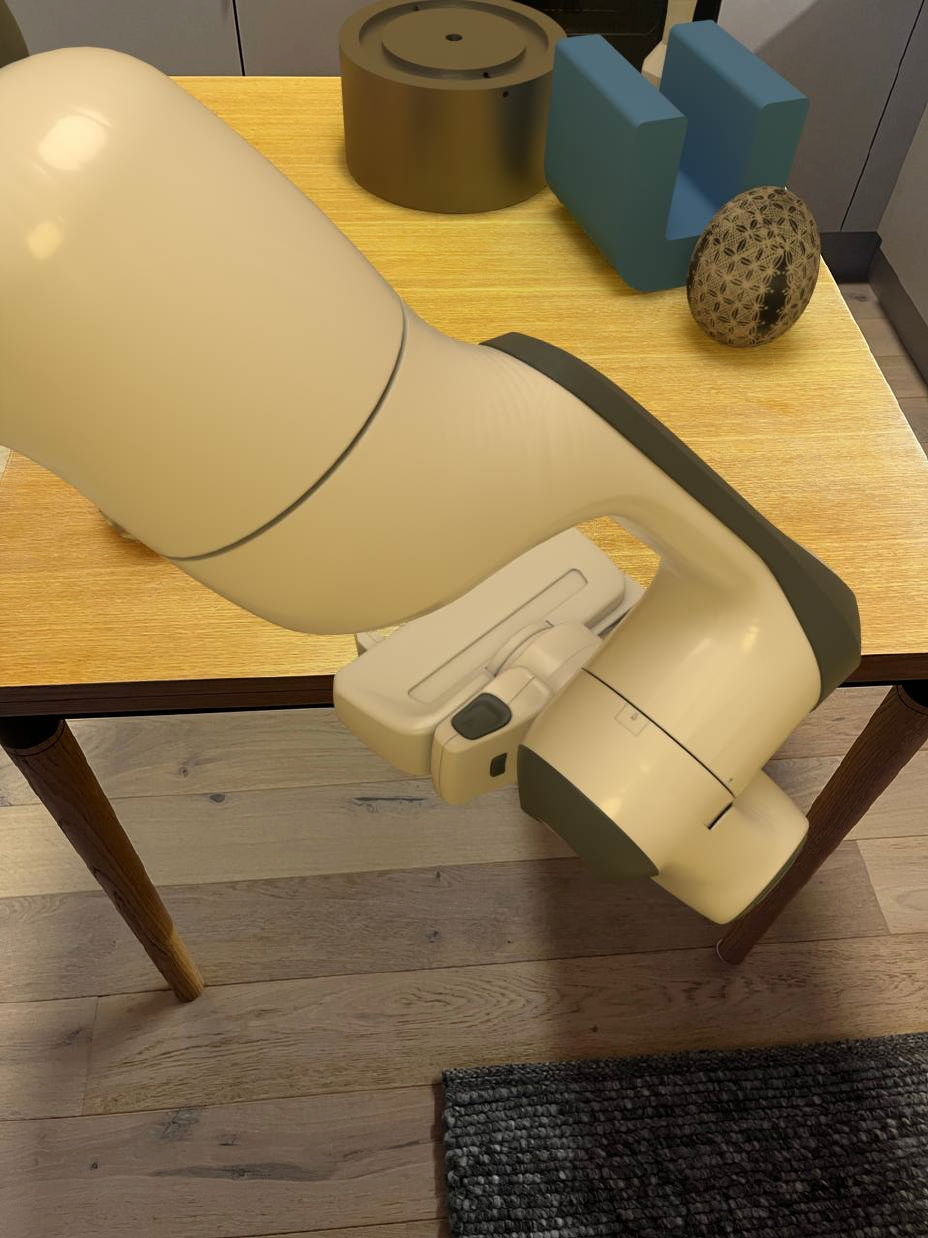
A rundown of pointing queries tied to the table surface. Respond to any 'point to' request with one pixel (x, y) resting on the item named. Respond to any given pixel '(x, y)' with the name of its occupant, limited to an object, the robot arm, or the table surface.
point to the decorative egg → (754, 268)
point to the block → (664, 144)
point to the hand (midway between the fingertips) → (401, 566)
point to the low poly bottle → (677, 13)
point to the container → (447, 101)
